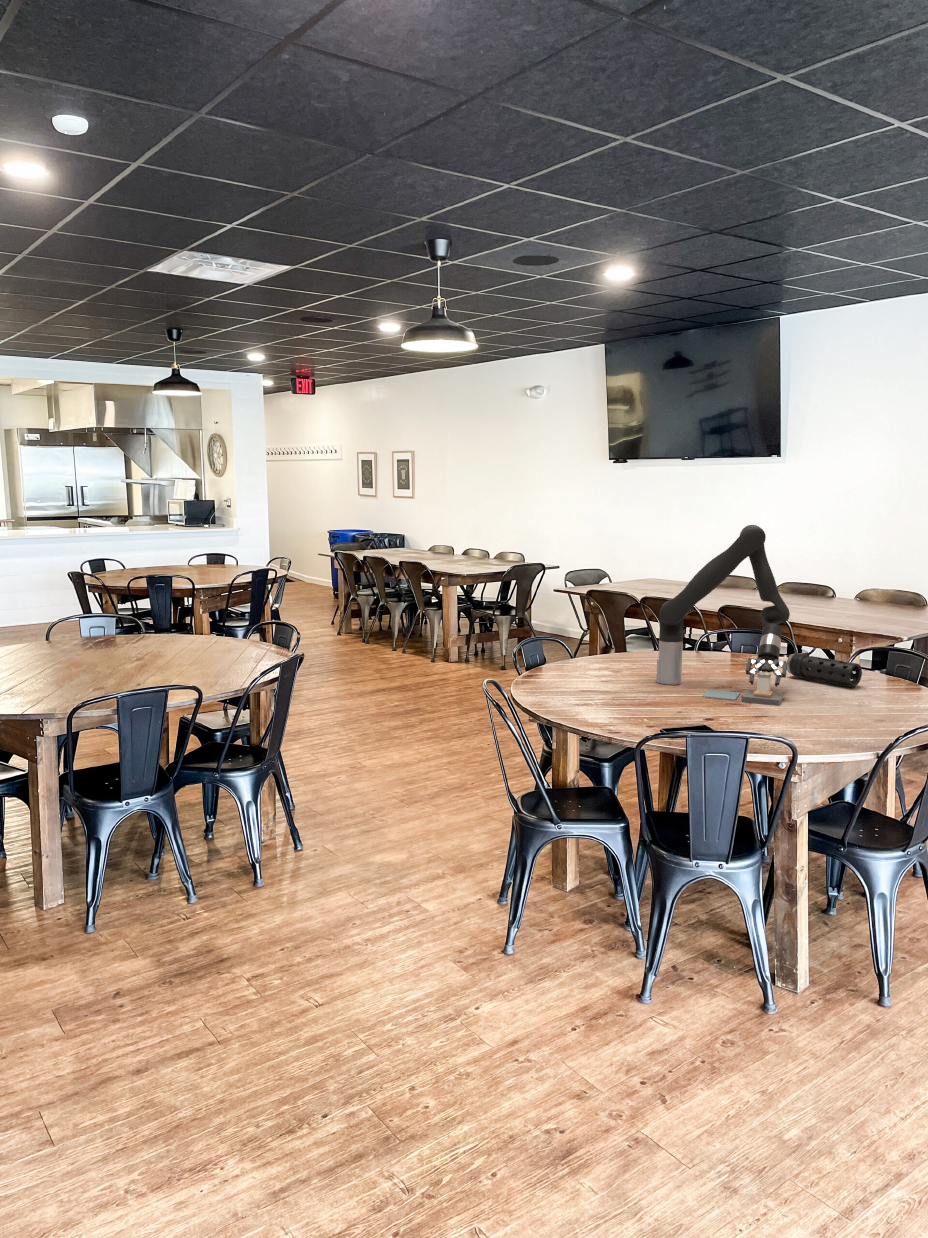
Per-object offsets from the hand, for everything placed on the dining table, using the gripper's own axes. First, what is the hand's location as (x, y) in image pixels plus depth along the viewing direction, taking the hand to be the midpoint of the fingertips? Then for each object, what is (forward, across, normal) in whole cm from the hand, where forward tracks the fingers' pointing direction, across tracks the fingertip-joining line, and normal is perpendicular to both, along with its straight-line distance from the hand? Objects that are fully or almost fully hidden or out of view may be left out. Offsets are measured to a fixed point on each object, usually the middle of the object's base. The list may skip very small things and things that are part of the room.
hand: (763, 684), depth 320 cm
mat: (+4, -15, +4) cm, 16 cm away
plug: (+4, 0, +4) cm, 6 cm away
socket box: (+4, 0, +4) cm, 6 cm away
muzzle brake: (-25, +17, +34) cm, 46 cm away
